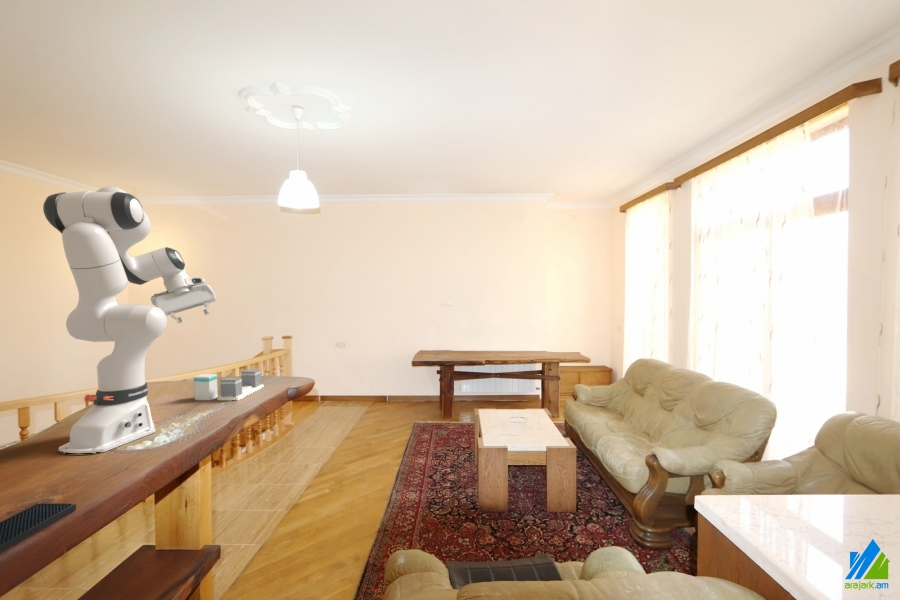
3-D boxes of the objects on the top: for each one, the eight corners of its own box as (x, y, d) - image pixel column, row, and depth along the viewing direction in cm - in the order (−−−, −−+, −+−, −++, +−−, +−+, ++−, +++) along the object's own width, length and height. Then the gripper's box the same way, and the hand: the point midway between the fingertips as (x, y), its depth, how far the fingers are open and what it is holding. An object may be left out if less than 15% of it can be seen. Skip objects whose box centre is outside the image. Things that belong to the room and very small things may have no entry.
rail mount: (237, 400, 152) (236, 380, 151) (217, 400, 152) (216, 380, 152) (263, 387, 169) (263, 369, 169) (245, 386, 170) (245, 369, 170)
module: (209, 400, 152) (208, 377, 152) (194, 400, 153) (193, 376, 152) (217, 396, 157) (216, 374, 156) (203, 396, 157) (202, 373, 157)
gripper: (147, 292, 149) (162, 325, 148) (207, 276, 162) (221, 306, 160) (149, 298, 154) (163, 330, 153) (207, 283, 167) (221, 312, 165)
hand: (193, 318), depth 156 cm, fingers open, 8 cm apart
